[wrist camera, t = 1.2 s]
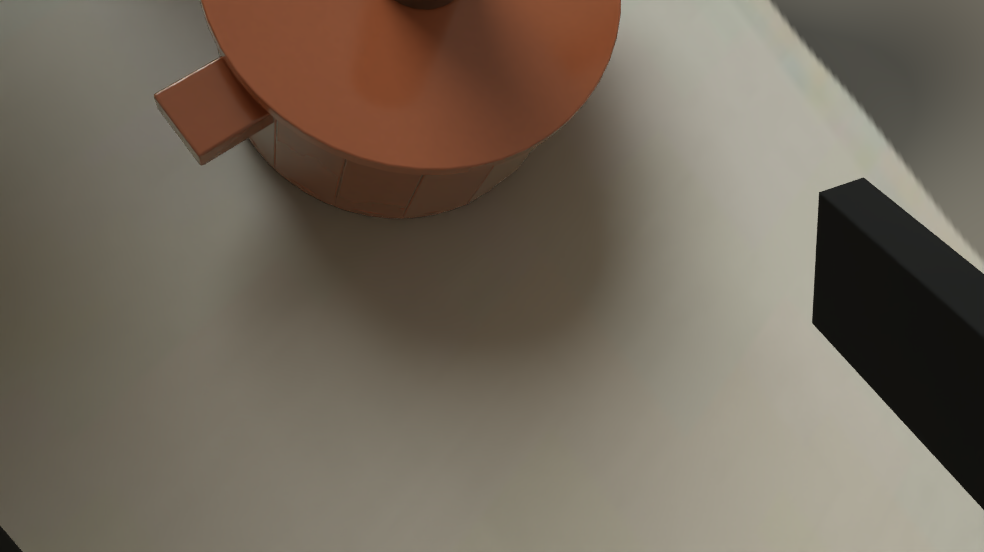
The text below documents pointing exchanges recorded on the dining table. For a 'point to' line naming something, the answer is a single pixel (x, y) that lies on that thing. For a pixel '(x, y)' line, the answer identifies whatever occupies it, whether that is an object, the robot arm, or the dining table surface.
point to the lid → (418, 73)
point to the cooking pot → (308, 152)
